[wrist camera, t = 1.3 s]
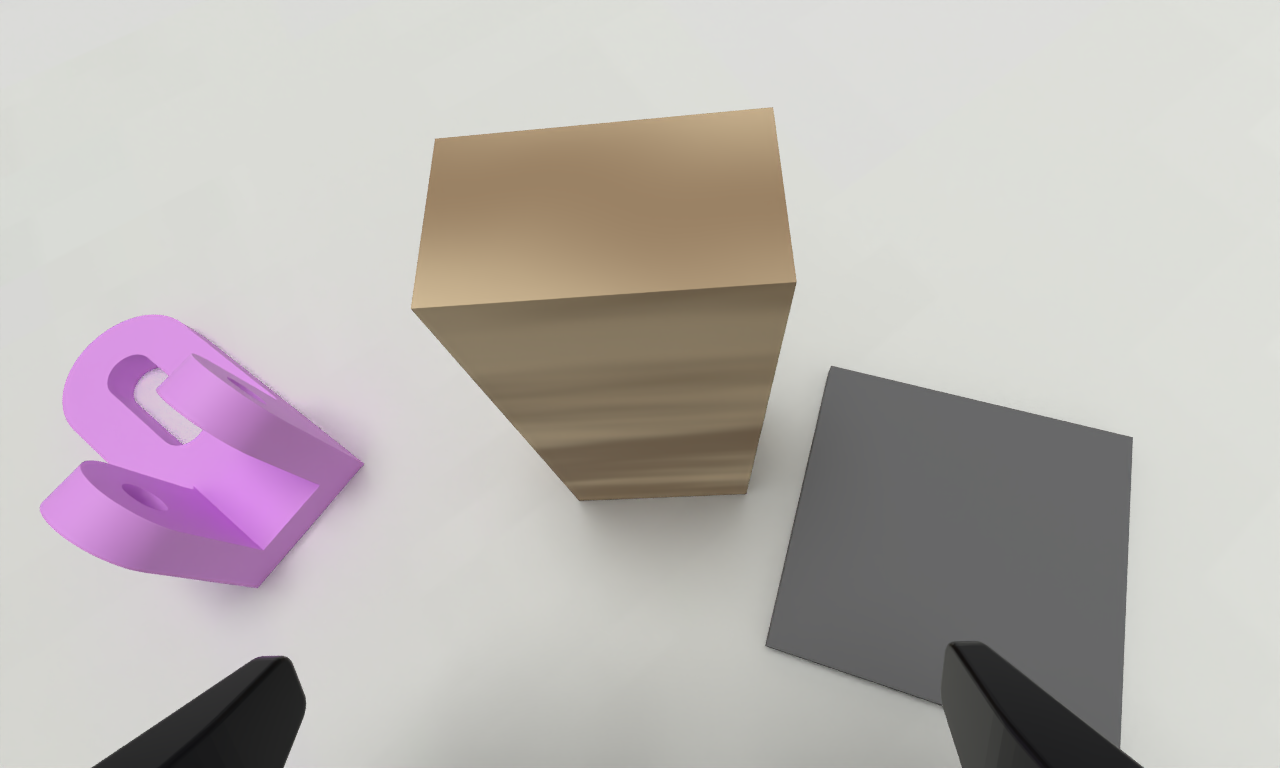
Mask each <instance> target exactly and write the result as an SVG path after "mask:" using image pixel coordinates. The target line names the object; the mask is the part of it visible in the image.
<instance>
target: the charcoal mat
mask: <svg viewBox="0 0 1280 768" xmlns="http://www.w3.org/2000/svg"><path fill="white" fill-rule="evenodd" d="M1132 443H1133V437H1129V436H1125V435H1120V434H1116V433H1112V432H1108V431H1104V430H1099V429H1095V428H1091V427H1087V426H1083V425H1078V424H1074V423H1070V422H1066V421H1061V420H1057V419H1053V418H1049V417H1045V416H1040V415H1036V414H1032V413H1028V412H1024V411H1019V410H1015V409H1011V408H1007V407H1003V406H998V405H994V404H990V403H986V402H982V401H977V400H973V399H969V398H965V397H960V396H956V395H952V394H948V393H944V392H939V391H935V390H931V389H927V388H923V387H918V386H914V385H910V384H906V383H902V382H897V381H893V380H889V379H885V378H881V377H876V376H872V375H868V374H864V373H859V372H855V371H851V370H847V369H843V368H838V367H834V366H831V368H830V370H829V373H828V377H827V381H826V386H825V390H824V394H823V398H822V403H821V407H820V411H819V416H818V420H817V424H816V429H815V433H814V437H813V442H812V446H811V450H810V455H809V459H808V463H807V468H806V472H805V476H804V481H803V485H802V489H801V494H800V498H799V502H798V507H797V511H796V515H795V520H794V524H793V528H792V533H791V537H790V541H789V546H788V550H787V554H786V559H785V563H784V567H783V572H782V576H781V580H780V585H779V589H778V593H777V598H776V602H775V606H774V611H773V615H772V619H771V624H770V628H769V632H768V637H767V641H766V645H765V646H768V647H771V648H774V649H777V650H780V651H783V652H786V653H789V654H792V655H795V656H798V657H801V658H804V659H807V660H810V661H813V662H815V663H818V664H821V665H824V666H827V667H830V668H833V669H836V670H839V671H842V672H845V673H848V674H851V675H854V676H857V677H860V678H863V679H866V680H869V681H872V682H875V683H878V684H881V685H884V686H887V687H890V688H893V689H895V690H898V691H901V692H904V693H907V694H910V695H913V696H916V697H919V698H922V699H925V700H928V701H931V702H934V703H937V704H940V705H942V701H941V691H940V689H941V679H942V671H943V663H944V655H945V649H946V646H947V645H948V643H950V642H953V641H980V642H982V643H984V644H986V645H987V646H989V647H990V648H991V649H993V650H994V651H995V652H997V653H998V654H999V655H1000V656H1002V657H1003V658H1004V659H1005V660H1007V661H1008V662H1009V663H1011V664H1012V665H1013V666H1014V667H1016V668H1017V669H1018V670H1020V671H1021V672H1022V673H1023V674H1025V675H1026V676H1027V677H1029V678H1030V679H1031V680H1032V681H1034V682H1035V683H1036V684H1037V685H1039V686H1040V687H1041V688H1043V689H1044V690H1045V691H1046V692H1048V693H1049V694H1050V695H1052V696H1053V697H1054V698H1055V699H1057V700H1058V701H1059V702H1061V703H1062V704H1063V705H1064V706H1066V707H1067V708H1068V709H1069V710H1071V711H1072V712H1073V713H1075V714H1076V715H1077V716H1078V717H1080V718H1081V719H1082V720H1084V721H1085V722H1086V723H1087V724H1089V725H1090V726H1091V727H1092V728H1094V729H1095V730H1096V731H1098V732H1099V733H1100V734H1101V735H1103V736H1104V737H1105V738H1107V739H1108V740H1109V741H1110V742H1112V743H1113V744H1114V745H1116V746H1117V747H1118V748H1119V749H1120V739H1121V715H1122V690H1123V665H1124V641H1125V616H1126V591H1127V566H1128V542H1129V517H1130V492H1131V468H1132Z"/></svg>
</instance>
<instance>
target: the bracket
mask: <svg viewBox="0 0 1280 768" xmlns="http://www.w3.org/2000/svg"><path fill="white" fill-rule="evenodd" d="M158 367H159V368H160V369H162V370H163V371H164V372H165V373H166V374H168V375H169V377H168V378H167V379H166V380H165V381H164V382H163V383H162V384H161V385H160V386H159V387H158V388H157V389H156V391H157V393H158V394H159V396H160V397H161V398H162V399H163V400H164V401H165V402H166V403H168V404H169V405H170V406H171V407H172V408H173V409H175V410H176V411H177V412H179V413H180V414H181V415H183V416H184V417H185V418H187V419H188V420H189V421H191V422H192V423H194V424H195V425H197V426H198V427H200V428H201V429H203V430H202V431H201V433H200V434H199V435H198V436H197V437H196V438H195V439H193V440H192V441H190V442H189V443H186V444H184V445H183V444H181V443H180V442H179V441H178V440H177V439H176V438H175V437H174V436H172V435H171V434H170V433H169V432H168V431H167V430H166V429H165V428H164V427H162V426H161V425H160V424H159V423H158V422H157V421H156V420H155V419H153V418H152V417H151V416H150V415H149V414H148V413H147V412H146V411H145V410H143V409H142V408H141V407H140V406H139V405H138V404H137V403H136V402H135V400H134V396H133V393H134V388H135V386H136V384H137V382H138V380H139V379H140V378H141V377H142V376H143V375H144V374H145V373H147V372H148V371H150V370H152V369H154V368H158ZM63 411H64V415H65V417H66V420H67V422H68V423H69V425H70V426H71V427H72V428H73V430H74V431H76V432H77V433H78V434H79V435H80V436H81V437H82V438H83V439H84V440H85V441H86V442H87V443H88V444H89V445H90V446H91V447H92V448H93V449H94V450H95V451H96V452H97V453H98V454H99V455H100V456H101V457H102V458H103V459H104V460H105V461H106V462H108V463H109V464H108V463H104V462H99V461H84V462H82V463H81V464H80V465H79V466H78V467H77V468H76V469H75V470H74V471H73V472H72V473H71V474H70V475H69V476H68V477H67V478H66V479H65V480H64V481H63V482H62V483H61V484H60V485H59V486H58V487H57V488H56V489H55V490H54V491H53V492H52V493H51V494H50V495H49V496H48V497H47V498H46V499H45V500H44V501H43V502H42V503H41V505H40V512H41V514H42V516H43V518H44V519H45V520H46V522H47V523H48V524H49V525H50V526H51V527H52V528H53V529H54V530H55V531H56V532H58V533H59V534H60V535H61V536H63V537H64V538H65V539H67V540H68V541H70V542H71V543H73V544H74V545H76V546H77V547H79V548H81V549H83V550H84V551H86V552H88V553H90V554H92V555H94V556H96V557H98V558H100V559H102V560H105V561H107V562H109V563H112V564H115V565H117V566H120V567H123V568H127V569H130V570H134V571H139V572H145V573H152V574H159V575H166V576H174V577H181V578H188V579H196V580H203V581H210V582H218V583H225V584H232V585H239V586H247V587H254V588H258V587H259V586H260V585H261V583H262V582H263V581H264V580H265V579H266V578H267V576H268V575H269V574H270V573H271V572H272V571H273V569H274V568H275V567H276V566H277V565H278V564H279V562H280V561H281V560H282V559H283V558H284V557H285V555H286V554H287V553H288V552H289V551H290V550H291V548H292V547H293V546H294V545H295V544H296V543H297V541H298V540H299V539H300V538H301V537H302V536H303V534H304V533H305V532H306V531H307V530H308V529H309V527H310V526H311V525H312V524H313V523H314V522H315V520H316V519H317V518H318V517H319V516H320V515H321V513H322V512H323V511H324V510H325V509H326V508H327V506H328V505H329V504H330V503H331V502H332V501H333V499H334V498H335V497H336V496H337V495H338V494H339V492H340V491H341V490H342V489H343V488H344V487H345V485H346V484H347V483H348V482H349V481H350V480H351V478H352V477H353V476H354V475H355V474H356V473H357V471H358V470H359V469H360V468H361V467H362V466H363V464H364V463H362V462H361V461H360V460H359V459H357V458H356V457H355V456H354V455H352V454H351V453H350V452H349V451H347V450H346V449H345V448H344V447H342V446H341V445H340V444H339V443H337V442H336V441H335V440H334V439H332V438H331V437H330V436H328V435H327V434H326V433H325V432H323V431H322V430H321V429H320V428H318V427H317V426H316V425H315V424H313V423H312V422H311V421H310V420H308V419H307V418H306V417H305V416H303V415H302V414H301V413H299V412H298V411H297V410H296V409H294V408H293V407H292V406H291V405H289V404H288V403H287V402H286V401H284V400H283V399H282V398H281V397H279V396H278V395H277V394H276V393H274V392H273V391H272V390H270V389H269V388H268V387H267V386H265V385H264V384H263V383H262V382H260V381H259V380H258V379H257V378H255V377H254V376H253V375H252V374H250V373H249V372H248V371H247V370H245V369H244V368H243V367H241V366H240V365H239V364H238V363H236V362H235V361H234V360H233V359H231V358H230V357H229V356H228V355H226V354H225V353H224V352H223V351H221V350H220V349H219V348H218V347H216V346H215V345H214V344H212V343H211V342H210V341H209V340H207V339H206V338H205V337H203V336H202V335H201V334H199V333H197V332H196V331H194V330H192V329H191V328H189V327H188V326H186V325H184V324H183V323H181V322H180V321H178V320H176V319H174V318H171V317H168V316H163V315H144V316H139V317H135V318H131V319H128V320H126V321H123V322H121V323H119V324H117V325H115V326H113V327H112V328H110V329H108V330H107V331H105V332H104V333H102V334H101V335H100V336H99V337H97V338H96V339H95V340H94V341H93V342H92V343H91V344H90V345H89V346H88V347H87V348H86V349H85V350H84V351H83V352H82V354H81V355H80V356H79V357H78V359H77V360H76V362H75V363H74V365H73V367H72V369H71V370H70V373H69V375H68V377H67V380H66V383H65V386H64V391H63Z"/></svg>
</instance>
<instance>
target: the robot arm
mask: <svg viewBox="0 0 1280 768" xmlns="http://www.w3.org/2000/svg"><path fill="white" fill-rule="evenodd" d="M940 691H941V701H942V705H943V709H944V712H945V715H946V718H947V722H948V725H949V728H950V731H951V734H952V737H953V740H954V744H955V747H956V750H957V753H958V756H959V759H960V763H961V766H962V768H1144V767H1142V766H1141V765H1140V764H1139V763H1137V762H1136V761H1135V760H1133V759H1132V758H1131V757H1130V756H1128V755H1127V754H1126V753H1124V752H1123V751H1122V750H1121V749H1119V748H1118V747H1117V746H1116V745H1114V744H1113V743H1112V742H1110V741H1109V740H1108V739H1107V738H1105V737H1104V736H1103V735H1101V734H1100V733H1099V732H1098V731H1096V730H1095V729H1094V728H1092V727H1091V726H1090V725H1089V724H1087V723H1086V722H1085V721H1084V720H1082V719H1081V718H1080V717H1078V716H1077V715H1076V714H1075V713H1073V712H1072V711H1071V710H1069V709H1068V708H1067V707H1066V706H1064V705H1063V704H1062V703H1061V702H1059V701H1058V700H1057V699H1055V698H1054V697H1053V696H1052V695H1050V694H1049V693H1048V692H1046V691H1045V690H1044V689H1043V688H1041V687H1040V686H1039V685H1037V684H1036V683H1035V682H1034V681H1032V680H1031V679H1030V678H1029V677H1027V676H1026V675H1025V674H1023V673H1022V672H1021V671H1020V670H1018V669H1017V668H1016V667H1014V666H1013V665H1012V664H1011V663H1009V662H1008V661H1007V660H1005V659H1004V658H1003V657H1002V656H1000V655H999V654H998V653H997V652H995V651H994V650H993V649H991V648H990V647H989V646H987V645H986V644H984V643H982V642H980V641H953V642H950V643H948V645H947V646H946V649H945V655H944V663H943V671H942V679H941V689H940ZM305 709H306V698H305V694H304V692H303V689H302V686H301V684H300V681H299V679H298V676H297V673H296V671H295V668H294V666H293V663H292V661H291V660H290V659H289V658H288V657H285V656H262V657H257V658H255V659H253V660H251V661H250V662H248V663H247V664H245V665H244V666H242V667H241V668H239V669H238V670H237V671H235V672H234V673H232V674H231V675H229V676H228V677H226V678H225V679H223V680H222V681H220V682H219V683H217V684H216V685H214V686H213V687H211V688H210V689H208V690H207V691H205V692H204V693H202V694H201V695H199V696H198V697H196V698H195V699H193V700H192V701H190V702H189V703H187V704H186V705H184V706H183V707H181V708H180V709H178V710H177V711H175V712H174V713H172V714H171V715H169V716H168V717H166V718H165V719H163V720H162V721H161V722H159V723H158V724H156V725H155V726H153V727H152V728H150V729H149V730H147V731H146V732H144V733H143V734H141V735H140V736H138V737H137V738H135V739H134V740H132V741H131V742H129V743H128V744H126V745H125V746H123V747H122V748H120V749H119V750H117V751H116V752H114V753H113V754H111V755H110V756H108V757H107V758H105V759H104V760H102V761H101V762H99V763H98V764H96V765H95V766H93V767H92V768H284V765H285V763H286V760H287V758H288V755H289V753H290V750H291V748H292V745H293V743H294V740H295V738H296V735H297V733H298V730H299V728H300V725H301V723H302V720H303V717H304V714H305Z"/></svg>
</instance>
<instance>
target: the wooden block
mask: <svg viewBox="0 0 1280 768" xmlns="http://www.w3.org/2000/svg"><path fill="white" fill-rule="evenodd" d="M795 286H796V274H795V267H794V259H793V252H792V245H791V237H790V230H789V222H788V215H787V208H786V200H785V193H784V185H783V178H782V171H781V163H780V156H779V148H778V141H777V134H776V126H775V119H774V111H773V107H772V108H761V109H750V110H739V111H729V112H718V113H707V114H696V115H686V116H675V117H664V118H654V119H643V120H632V121H621V122H611V123H600V124H589V125H578V126H568V127H557V128H546V129H535V130H525V131H514V132H503V133H492V134H482V135H471V136H460V137H449V138H439V139H435V143H434V150H433V157H432V164H431V171H430V178H429V185H428V192H427V199H426V206H425V213H424V220H423V227H422V234H421V241H420V248H419V255H418V262H417V269H416V276H415V283H414V290H413V297H412V304H411V309H412V311H413V312H414V313H415V314H416V315H417V316H418V317H419V319H420V320H421V321H422V322H423V323H424V324H425V325H426V327H427V328H428V329H429V330H430V331H431V332H432V333H433V334H434V336H435V337H436V338H437V339H438V340H439V341H440V342H441V344H442V345H443V346H444V347H445V348H446V349H447V350H448V352H449V353H450V354H451V355H452V356H453V357H454V358H455V360H456V361H457V362H458V363H459V364H460V365H461V366H462V368H463V369H464V370H465V371H466V372H467V373H468V374H469V376H470V377H471V378H472V379H473V380H474V381H475V382H476V384H477V385H478V386H479V387H480V388H481V389H482V390H483V392H484V393H485V394H486V395H487V396H488V397H489V398H490V399H491V401H492V402H493V403H494V404H495V405H496V406H497V407H498V409H499V410H500V411H501V412H502V413H503V414H504V415H505V417H506V418H507V419H508V420H509V421H510V422H511V423H512V425H513V426H514V427H515V428H516V429H517V430H518V431H519V433H520V434H521V435H522V436H523V437H524V438H525V439H526V441H527V442H528V443H529V444H530V445H531V446H532V447H533V449H534V450H535V451H536V452H537V453H538V454H539V455H540V457H541V458H542V459H543V460H544V461H545V462H546V463H547V464H548V466H549V467H550V468H551V469H552V470H553V471H554V472H555V474H556V475H557V476H558V477H559V478H560V479H561V480H562V482H563V483H564V484H565V485H566V486H567V487H568V488H569V490H570V491H571V492H572V493H573V494H574V495H575V496H576V498H577V499H578V500H579V501H584V500H609V499H633V498H658V497H682V496H707V495H732V494H746V493H747V488H748V484H749V480H750V476H751V472H752V467H753V463H754V459H755V455H756V451H757V446H758V442H759V438H760V434H761V429H762V425H763V421H764V417H765V413H766V408H767V404H768V400H769V396H770V392H771V387H772V383H773V379H774V375H775V371H776V366H777V362H778V358H779V354H780V350H781V345H782V341H783V337H784V333H785V329H786V324H787V320H788V316H789V312H790V307H791V303H792V299H793V295H794V291H795Z"/></svg>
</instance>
